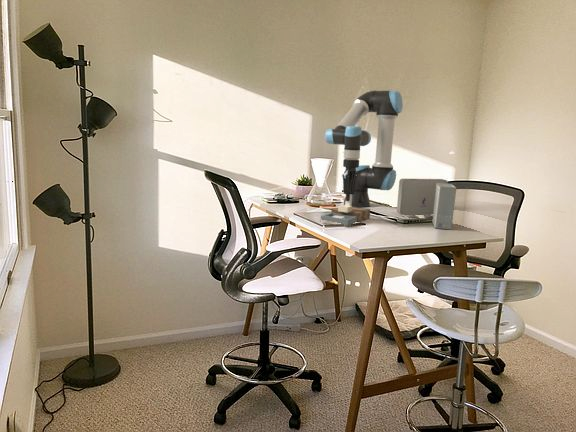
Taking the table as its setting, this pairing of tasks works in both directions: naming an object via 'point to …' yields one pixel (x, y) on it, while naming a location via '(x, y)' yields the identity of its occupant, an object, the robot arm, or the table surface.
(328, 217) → the box
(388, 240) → the table surface
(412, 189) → the network device
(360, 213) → the bench plate
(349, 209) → the tile
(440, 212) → the hard drive box
